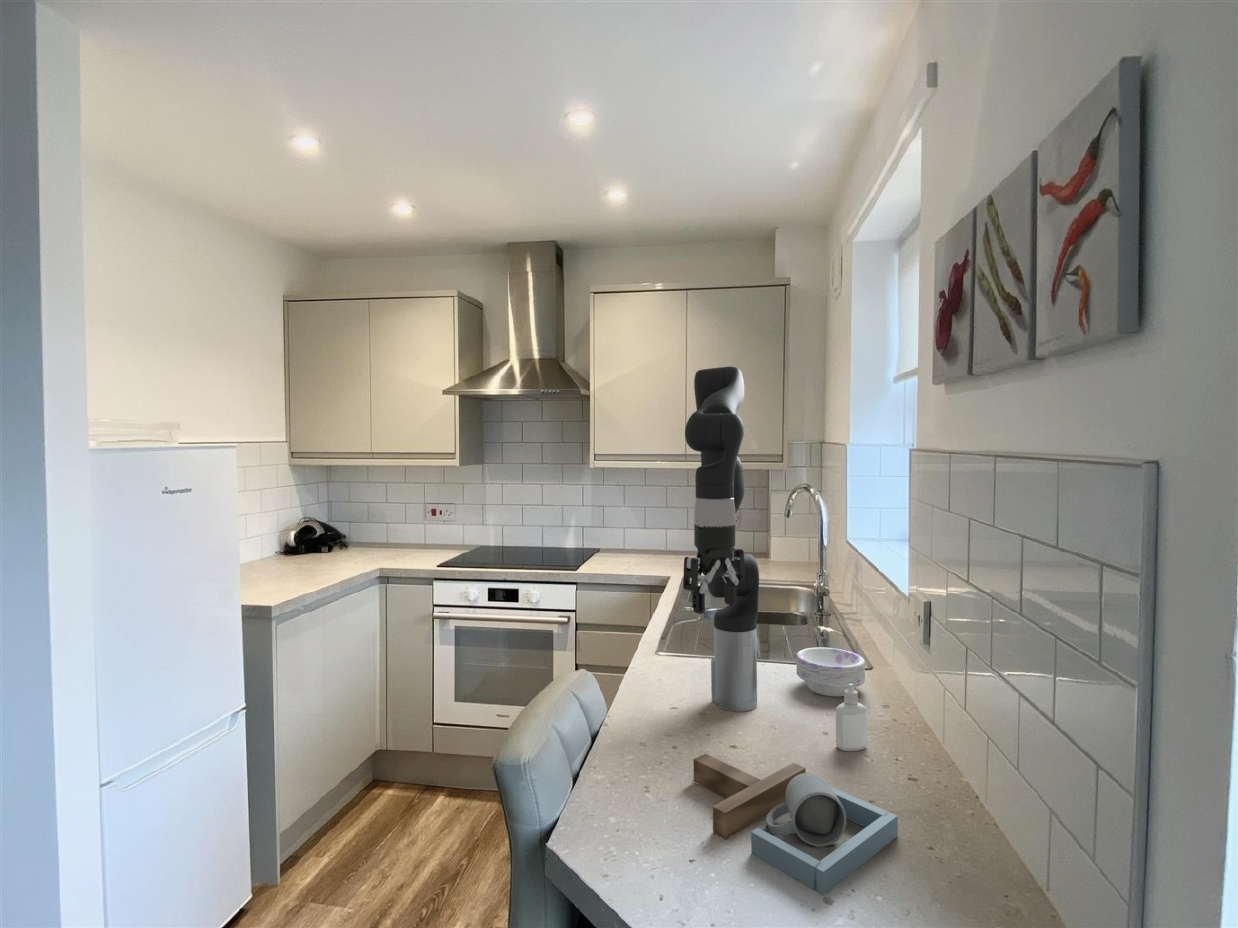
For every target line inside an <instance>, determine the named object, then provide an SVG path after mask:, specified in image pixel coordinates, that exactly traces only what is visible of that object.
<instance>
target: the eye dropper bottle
mask: <svg viewBox="0 0 1238 928" xmlns="http://www.w3.org/2000/svg"><path fill="white" fill-rule="evenodd" d="M858 694H859V692H858V691H857V690H856V689H854V687H853V684H849V686H848V689H846V690H845V691H844V696H843V701H844V702H842V703H840V704H839V705H837V707H836V708H835V746H836V747H837V748H838V749H839V750H841V751H842V752H857V751H862V750H865V749H866V748H867V746H868V718H867V716H868V715H867V713H868V712H867V708H866V707H865V705H863V704H862V703H861V702H859V695H858Z"/></svg>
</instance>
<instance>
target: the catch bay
mask: <svg viewBox="0 0 1238 928" xmlns="http://www.w3.org/2000/svg"><path fill="white" fill-rule="evenodd" d="M830 787H831V788H832V790H833V792H834V793H835V794H836V796H837V798H838V799H839V801H840V802H841V804H842V805H843V807H844V810H845V813H846V820H849V821H851V822H852V823H855V824H858V826H862V827H864V828H862V830H861V831H859V832H858V833H856V834H854V836H852V837H851V838H850V839H848V840H847V841H845V842H844V843H843V844H841V845H840V846H838V847H837V848H836V849H835V850H833V851H831V853H829V854H828V855H826V856H824V857H823V858H822V859H820V860H819V859H817V858H814V857H813V856H811V855H810V854H807V853H806V852H804V851H801V850H800V849H798V848H796V847H794V846H793V845H791V844H789V843H788V842H786V841H783V840H781V839H780V838H778V837H776V836H775V835H772V833H771V834H770V833H769V832H767V831H764V829H761V828H759V827H756V828H755V829H754V830H751V832H750V837H751V838H750V840H751V843H750V844H751V848H750V849H751V854H752V855H754V856H756V857H758V858H760V859H762V860H763V861H765V862H766V863H768V864H770V865H772V866H773V867H775V868H777V869H778V870H780V871H781V872H784V873H785V874H786V875H789V876H790V877H791V878H794V879H795V880H797V881H799V882H800V883H802V884H804V885H806V886H807V887H809V888H811V889H812V890H814V891H816V892H818V893H819V894H821V895H823V896H824V895H826V894H827V893H828V892H829V891H831V890H832V889H833V888H834V887H835V886H837V885H838V884H840V883H841V882H842V881H843V880H844V879H846V878H847V877H848V876H850V875H851V874H852V873H854V871H856V870H857V869H858V868H859V867H861V866H862V865H863V864H865V863H866V862H867V861H868V860H870V859H871V858H872V857H873V856H874V855H876V854H877V853H879V851H881V850H882V849H884V847H886V846H887V845H888V844H890V843H891V842H893V841H894V840H895V839H896V838H897V837H898V836H899V835H898V833H899V832H898V831H899V828H898V827H899V823H898V815H897V814H894V813H892V812H890V811H888V810H885V809H883V808H881V807H878V806H876V805H874V804H872V803H869V802H866V801H865V800H863V799H859V798H857V797H855V796H853V795H851V794H848V793H846V792H844V791H842V790H839V789H837V788H836V787H833V786H830Z"/></svg>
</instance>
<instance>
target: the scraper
mask: <svg viewBox="0 0 1238 928" xmlns="http://www.w3.org/2000/svg"><path fill="white" fill-rule="evenodd" d="M692 761H693V783H694V782H695V784H696V783H697V785H698V784H699V785H698V786H701V787H702V788H704V789H707V790H708V791H710V792H712V793H713V794H715V795H717V796H719V797H721V798H723V799H724V800H722V801H719V802H718V803H717V804H714V805H712V832H713V834H715V835H717V836H718V837H719V838H722V839H723V840H725V841H726V840H728V839H729V838H731V837H733V836H735V835H736V834H737V833H740V832H742V831H743V830H744V829H746V828H748V827H749V826H751V825H753V824H754V823H756V822H758V821H759V820H761V819H763V818H765V817H767V815H768V813H769V812H770V811H771V810H772V809H773V808H775V807H776V806H778V805H780V804H782V803H784V802H785V801H786V799H785V795H786V788H787V786H788V784H789V782H790V781H791V780H792V779H793V778H794V777H795V776H797V775H799V774H802V773H807V772H806V771H807V770H806V767H805V766H802V765H799V764H797V763H794V762H791V763H790V764H788V765H786V766H785V767H783V768H781V769H779V770H777V771H775V772H774V773H772V774H770V775H768V776H766V777H763V779H760V778H758V777H756V776H753V775H752V774H749V773H747V772H746V771H743V770H740V769H739V768H737V767H735V766H733V765H731V764H728V763H726V762H724V761H722V760H720V759H718V758H715V757H713V756H712V755H709V754H707V753H705V754H702V755H699V756H698V757H695V758H693V760H692Z"/></svg>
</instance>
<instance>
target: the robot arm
mask: <svg viewBox="0 0 1238 928" xmlns="http://www.w3.org/2000/svg"><path fill="white" fill-rule="evenodd" d="M693 379H694V381H693V387H694V388H693V389H694V397H695V406H696V411H694V412H693V413H692V414H691V415H690V416H689V418H688V420H687V422H686V425H685V427H684V428H685V430H684V437H685V442H686V444H687V446H688V447H689V448H690V449H691V450H692V451H695V452H699V453H700V466H698V467H697V468H696V471H695V501H694V509H693V513H694V515H693V523H694V524H693V525H694V526H693V527H694V529H693V531H694V532H693V537H694V538H693V539H694V540H693V541H694V543H693V544H694V547H696V549H697V554H696V556H694V557H691V556H685V557H684V558H683V576H682V577H683V581H682V582H683V583H682V588H683V590H684V591H688V592H691V596H692V597H691V600H692V602H691V603H692V604H691V605H692V606H691V608H692V610H693V612H694V613H695V614H699V615H702V614H705V612H706V602H705V601H706V594H705V593H704V592H705V590H706V588H707V589H708V591H709V594H710V595H711V596H712V597H713V598H718V599H721V598H723V599H724V601H723V602H724V604H726V606H725V607H723V608H721V609H719V610H718V611H717V612H715V613H714V615H713V634H714V635H713V639H714V640H713V641H714V642H713V643H714V645H713V646H714V651H713V653H714V655H713V656H714V657H713V658H712V659H710V674H711V675H710V677H711V680H710V681H711V686H710V687H711V702H713V701H714V702H713V703H714V704H715V706H716V707H718V708H720V709H722V710H725V711H729V712H748V711H751V710H754V709H755V708H757V706H758V660H757V659H758V658H757V657H758V656H757V655H758V652H757V650H758V649H757V648H758V647H757V646H758V645H757V644H758V643H757V620H758V616H759V594H760V593H759V592H760V591H759V590H760V570H759V567H758V566H759V565H758V563H757V560H756V558H755V557H754V556H753V555H752V554H750V553H744V552H745V551H744V549H741V548H735V546H736V514H737V512H738V511H739V508H740V506H741V504H742V502H743V499H744V496H745V481H744V478H745V477H744V468H743V467H744V466H743V463H742V462H741V459H740V458H739V456H738V455H739V452H740V448H741V447H742V446H741V445H742V442H743V439H744V435H745V425H744V423H743V420H742V419H741V417H740V416H739V415H738V414H736V413H737V412H738V410H739V408H740V407H741V405H742V404H743V402H744V400H745V381H744V377H743V373H742V371H741V370H740V368H738V367H735V366H724V367H723V366H719V367H713V368H704V369H699V370H697V371H696V372H695V374H694V378H693ZM702 574H703V575H702Z"/></svg>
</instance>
